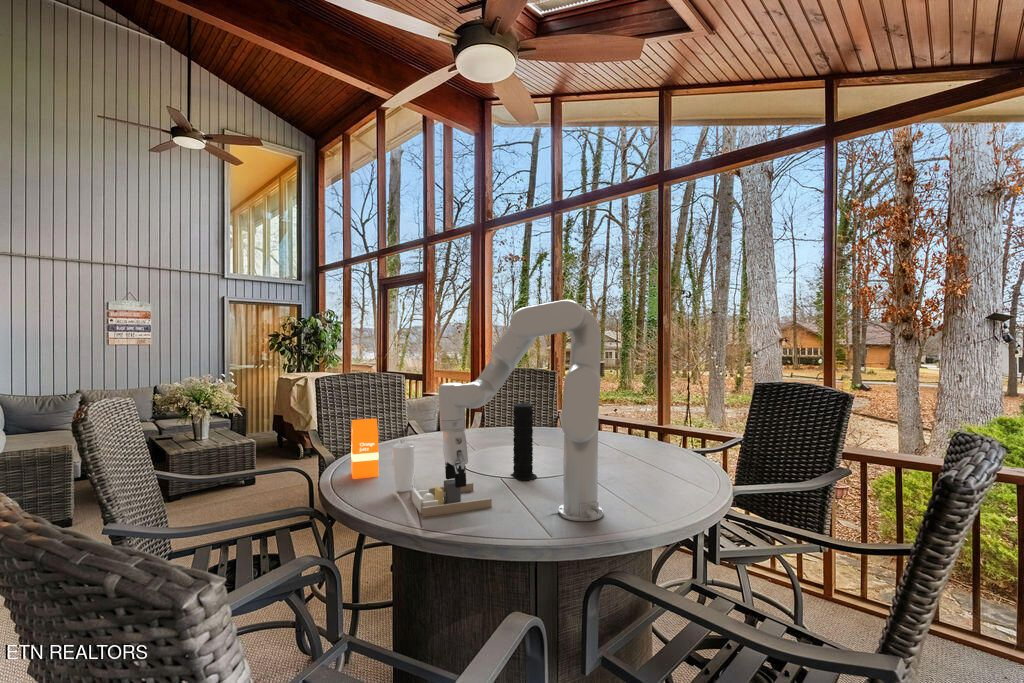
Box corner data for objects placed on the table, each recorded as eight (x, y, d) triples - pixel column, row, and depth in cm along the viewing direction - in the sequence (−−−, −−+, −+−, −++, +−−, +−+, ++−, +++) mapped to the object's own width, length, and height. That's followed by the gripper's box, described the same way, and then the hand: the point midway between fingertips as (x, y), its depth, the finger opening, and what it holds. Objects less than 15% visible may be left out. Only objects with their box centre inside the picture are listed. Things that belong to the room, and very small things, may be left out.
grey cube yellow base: (461, 503, 148) (461, 483, 148) (439, 506, 146) (439, 485, 146) (456, 498, 153) (456, 478, 153) (434, 501, 150) (434, 481, 150)
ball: (423, 496, 144) (424, 508, 145) (436, 494, 146) (436, 506, 146) (420, 492, 148) (421, 504, 148) (432, 490, 149) (433, 502, 149)
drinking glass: (393, 496, 158) (393, 448, 158) (392, 489, 164) (392, 443, 164) (415, 494, 160) (415, 447, 159) (413, 487, 166) (413, 442, 166)
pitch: (491, 510, 146) (491, 498, 146) (422, 520, 138) (422, 508, 138) (472, 492, 161) (472, 482, 161) (409, 501, 153) (409, 490, 153)
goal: (438, 511, 142) (438, 497, 142) (420, 513, 140) (420, 499, 140) (428, 499, 153) (428, 486, 153) (411, 501, 151) (411, 488, 151)
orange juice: (378, 476, 179) (378, 420, 179) (352, 479, 176) (352, 421, 176) (376, 470, 187) (375, 416, 186) (351, 473, 183) (350, 418, 183)
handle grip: (536, 481, 173) (538, 473, 183) (536, 404, 173) (538, 400, 183) (507, 481, 174) (510, 472, 184) (507, 404, 174) (510, 400, 184)
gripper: (474, 427, 143) (477, 488, 143) (456, 419, 159) (459, 473, 159) (448, 430, 140) (451, 492, 140) (433, 422, 156) (435, 477, 156)
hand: (455, 482), depth 149 cm, fingers open, 9 cm apart
